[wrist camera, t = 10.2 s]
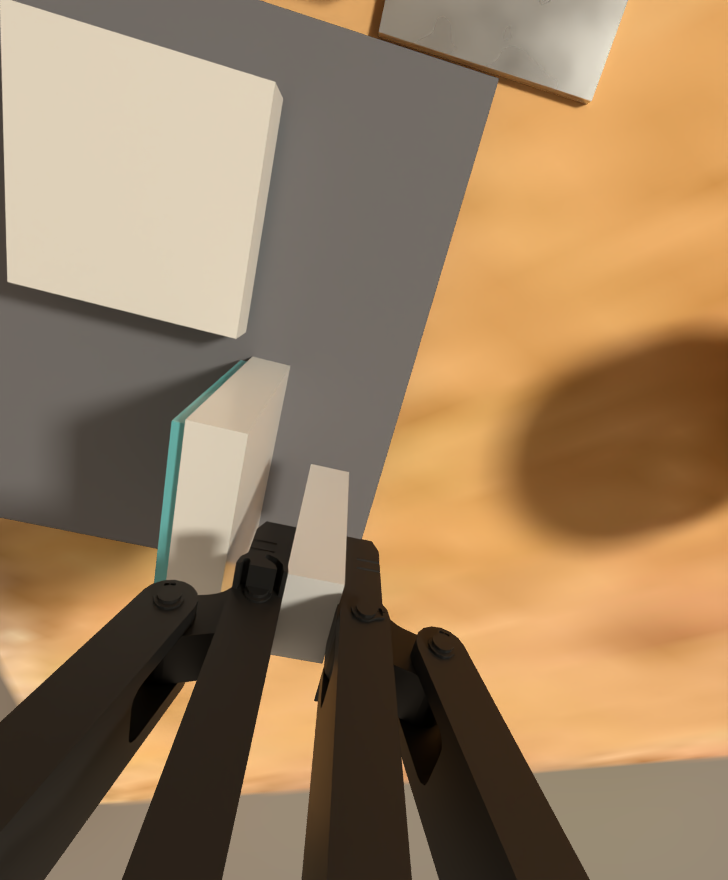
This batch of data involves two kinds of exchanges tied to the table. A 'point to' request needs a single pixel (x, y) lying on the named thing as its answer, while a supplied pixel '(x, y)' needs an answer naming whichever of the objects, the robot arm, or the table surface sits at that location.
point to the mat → (275, 285)
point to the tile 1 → (133, 171)
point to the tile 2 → (219, 475)
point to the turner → (513, 38)
